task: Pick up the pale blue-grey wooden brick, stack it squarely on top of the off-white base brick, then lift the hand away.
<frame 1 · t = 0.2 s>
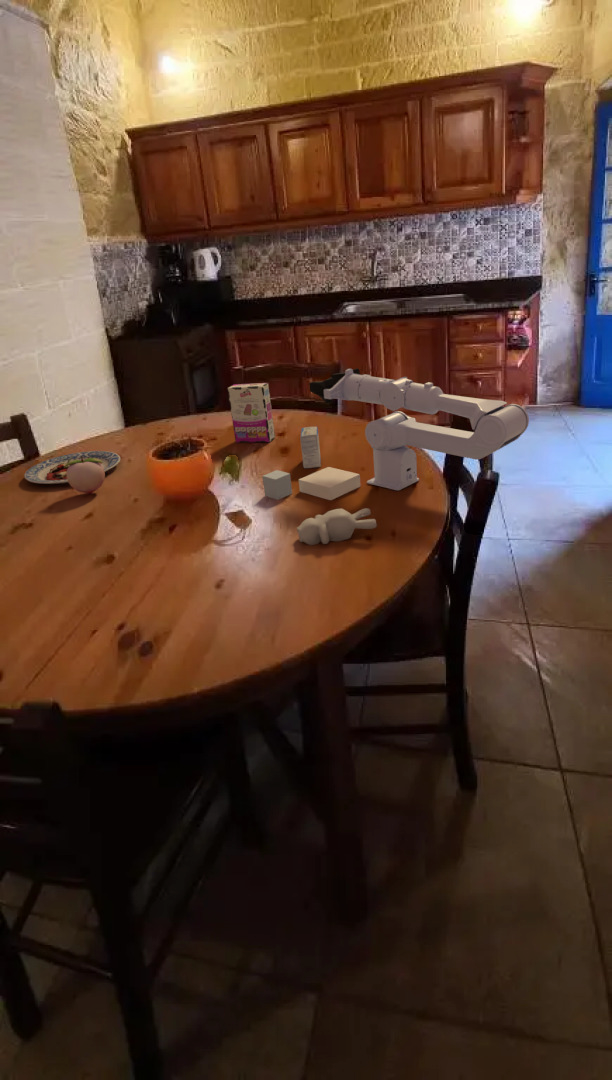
hand: (321, 382, 157), 22 cm above the table, tool horizontal, fingers open, 7 cm apart
decorative fruit: (91, 494, 166), on the table
medicine box: (312, 464, 171), on the table
bunny figurine: (336, 538, 130), on the table
ceramic plate: (75, 473, 184), on the table
candy bar box: (255, 440, 195), on the table
blue-grey brick: (278, 494, 153), on the table
base brick: (330, 489, 153), on the table
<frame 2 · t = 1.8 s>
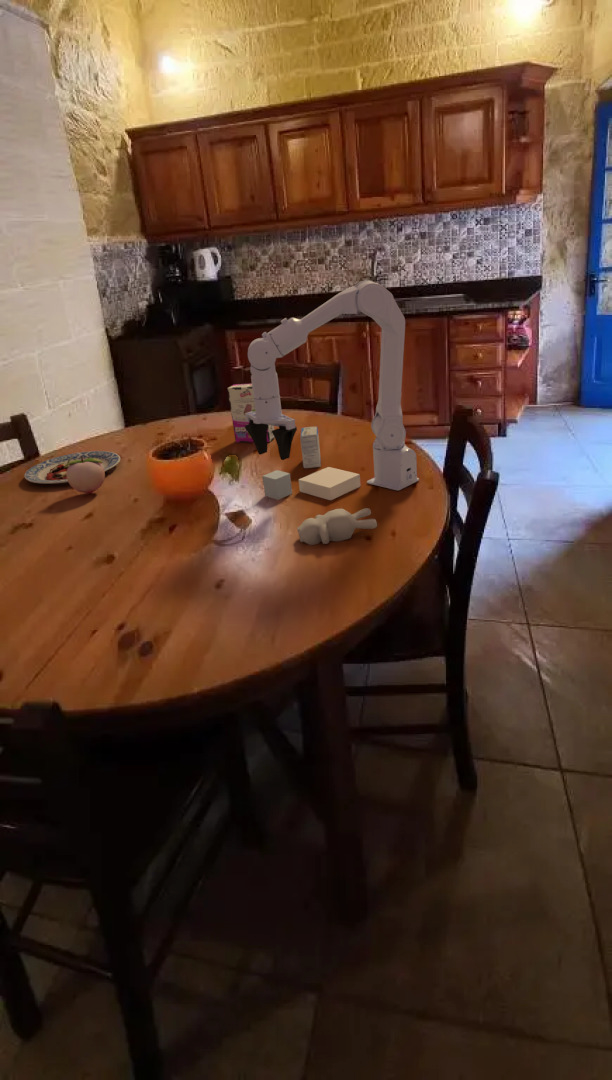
hand: (273, 455, 149), 9 cm above the table, tool pointing down, fingers open, 7 cm apart
nothing on the table moved.
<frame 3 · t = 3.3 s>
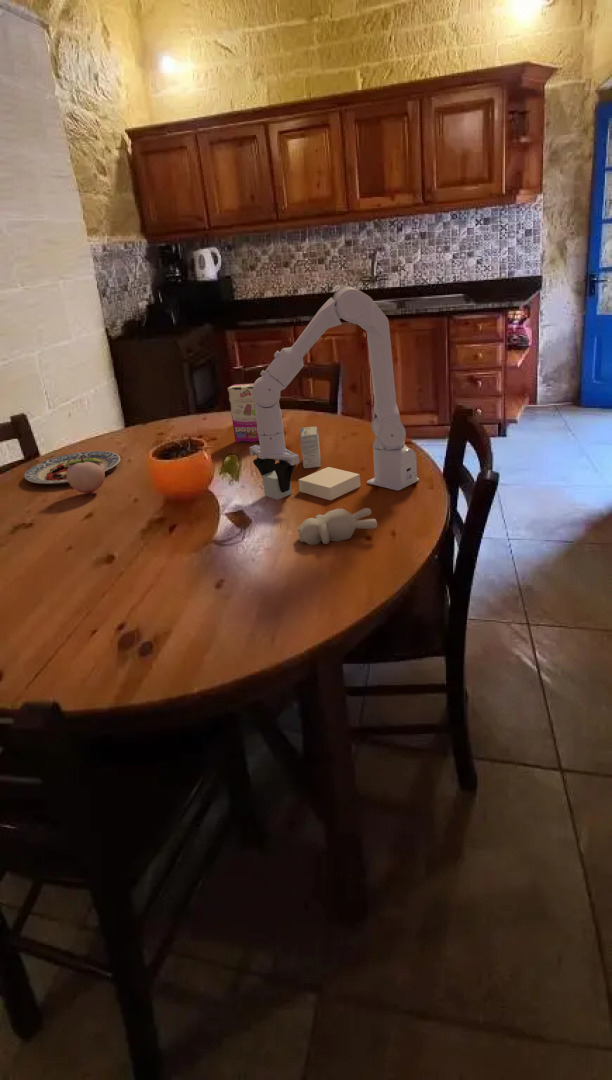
hand: (277, 488, 152), 1 cm above the table, tool pointing down, fingers closed on blue-grey brick, 4 cm apart
blue-grey brick: (278, 494, 153), on the table, touching gripper
everything else where it was.
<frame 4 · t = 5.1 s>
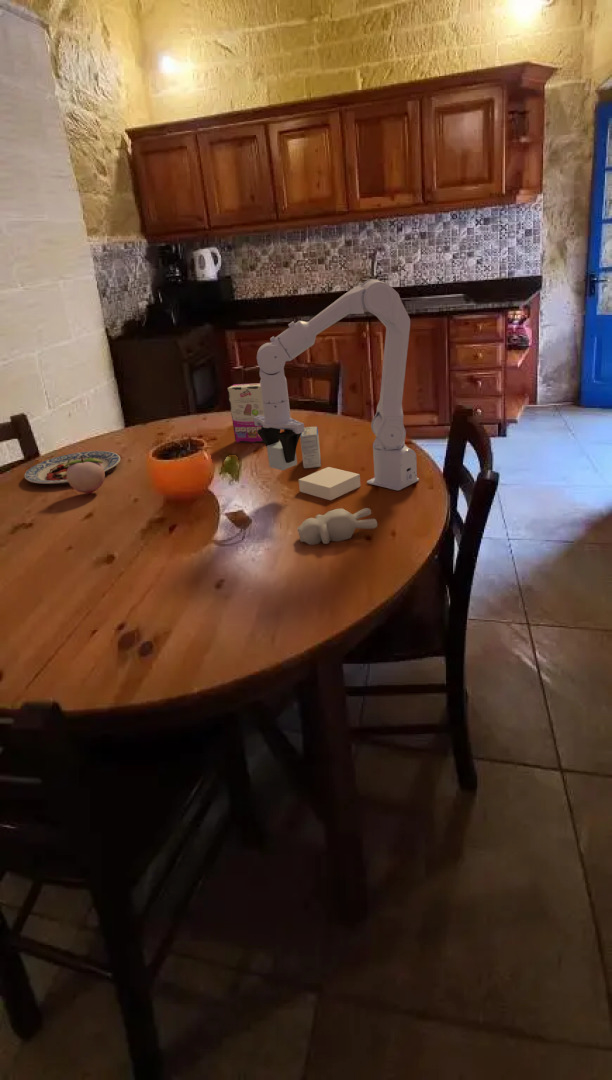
hand: (282, 459, 149), 8 cm above the table, tool pointing down, fingers closed on blue-grey brick, 4 cm apart
blue-grey brick: (283, 465, 150), point 7 cm above the table, touching gripper
everything else where it was.
when the fingers open (5 cm above the table, at t = 7.0 s): blue-grey brick stays where it is, resting on base brick.
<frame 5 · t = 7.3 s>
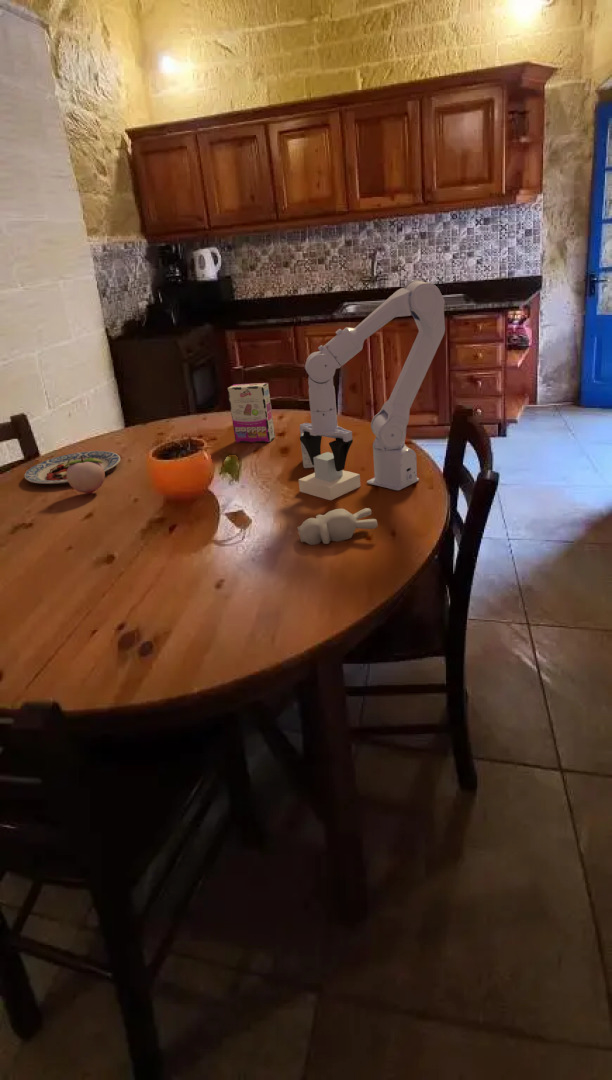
hand: (328, 467, 151), 5 cm above the table, tool pointing down, fingers open, 7 cm apart
blue-grey brick: (329, 476, 152), point 3 cm above the table, touching base brick
everything else where it was.
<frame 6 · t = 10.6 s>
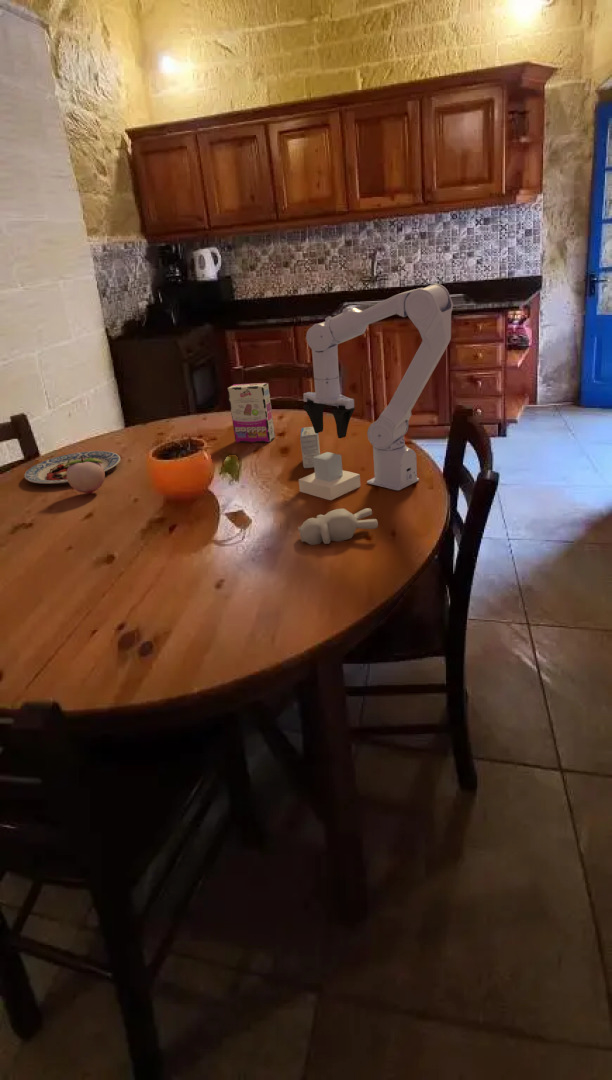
hand: (330, 434, 156), 10 cm above the table, tool pointing down, fingers open, 7 cm apart
nothing on the table moved.
at the end: blue-grey brick 0.0 cm off-centre on the base brick, point 3.0 cm above the base brick's base; blue-grey brick tilted 0°; the gripper is holding nothing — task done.
